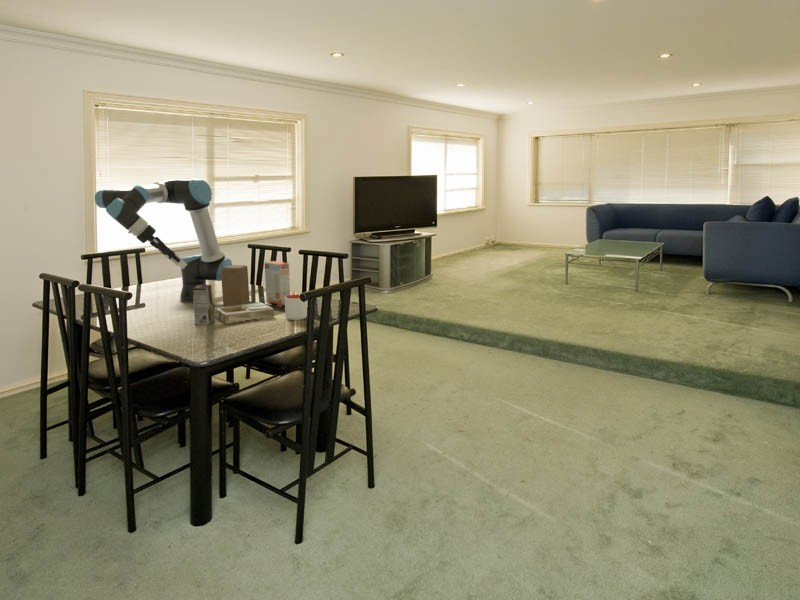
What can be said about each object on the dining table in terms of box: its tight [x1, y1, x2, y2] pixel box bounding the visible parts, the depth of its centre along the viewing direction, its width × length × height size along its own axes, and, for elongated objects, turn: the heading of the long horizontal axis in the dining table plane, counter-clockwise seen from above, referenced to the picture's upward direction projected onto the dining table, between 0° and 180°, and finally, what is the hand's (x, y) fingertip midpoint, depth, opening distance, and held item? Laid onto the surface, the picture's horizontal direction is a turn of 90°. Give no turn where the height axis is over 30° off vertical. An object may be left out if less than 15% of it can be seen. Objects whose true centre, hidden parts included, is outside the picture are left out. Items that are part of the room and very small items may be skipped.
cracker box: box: [264, 260, 291, 306], centre depth 295 cm, size 14×6×21 cm, turn 45°
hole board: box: [214, 301, 275, 324], centre depth 268 cm, size 17×22×4 cm
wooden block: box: [220, 264, 251, 307], centre depth 289 cm, size 10×10×20 cm
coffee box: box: [192, 284, 215, 325], centre depth 258 cm, size 9×6×16 cm
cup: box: [284, 293, 308, 321], centre depth 264 cm, size 10×10×10 cm
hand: (182, 265), depth 251 cm, fingers open, 13 cm apart
